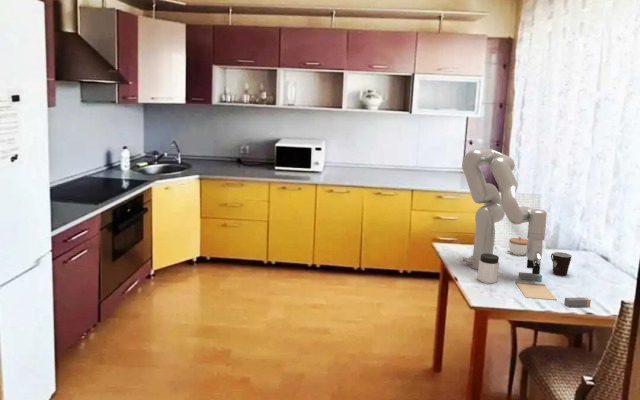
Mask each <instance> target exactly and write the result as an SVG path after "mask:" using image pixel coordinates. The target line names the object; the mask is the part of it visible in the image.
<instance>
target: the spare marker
mask: <svg viewBox="0 0 640 400" xmlns="http://www.w3.org/2000/svg"><path fill="white" fill-rule="evenodd" d="M591 300H592V299H591V298H590V299H589V298H588V297H565V298H564V301H563V302H564V303H563V304H564V306H565V307H568V308H589V307H591Z"/></svg>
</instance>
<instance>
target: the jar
mask: <svg viewBox="0 0 640 400" xmlns="http://www.w3.org/2000/svg"><path fill="white" fill-rule="evenodd" d="M499 260H500V257H499V256H498V255H496V254H494V253H493V254H481V259H480V260H479V268H478V269H477V270H478V271H477V277H476V278H477V280H478V281H479V282H481V283H484V282H486V283H485V284H491V283H492V284H494V283H497V282H498V277H499V276H498V275H499V270H500V269H499V268H500V261H499Z"/></svg>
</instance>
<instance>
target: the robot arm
mask: <svg viewBox="0 0 640 400" xmlns="http://www.w3.org/2000/svg"><path fill="white" fill-rule="evenodd" d="M461 164H462V165H461V166H462V171H463V174H464V176H465V179H466V181H467V182H466V183H467V186H468V189H469V192H470V196H471V198H472V200H473V202H474V203H475V204H481V205H482V204H483V206H481V207H479V208H478V209H477V210H476V211H475V216H474V217H475V230H474V240H473V241H474V242H473V251H472V255H471V257H462V261H463V262H466V263H468V266H469V267H470V268H471V269H475V270H478V268H479V260H480V259H481V254H494V246H495V239H496V229H495V224H496V223H499V222H501V221H503V219H505V218H504V217H505V216H506V217H507V219H508V222H510V223H511V224H513V225H521V224H524V223H528V226H527V236H526V237H527V240H528V243H527V250H526V253H525V256H526V258H527V261H526V268H527V269H532V271H531V273H532V274H541V273H540V272H541V261H542V256H543V241H545V237H546V226H547V225H546V224H547V217H548V216H547V211H546V210H544V209H539V208H537V209H536V208H532V207H529V206H519V203H518V201H517V198H516V195H517V194H516V192H517V189H518V187H519V184H518V181H517V179H516V177H515V175H514V173H513V170H514V169H515V166H516V165H515V164H516V163H515V161H514V159H513V158H512V157H510V156H509V155H507V154H504V153H502V152H499V151H497V150H495V149H492V148H488V147H484V148H483V147H482V148H475V149H472V150H469V151H468V152H466V154H465V155H464V156H463V158H462V162H461ZM480 166H487V167H489V168H490V171H491V173H492V175H493V177H494V179H495V182H496V183H497V184H496V185H497V186H498V188H499V190H500V192H499V190H498V188H497V186H495V185H494V184H493V183H489V182H486V179H485V175H484V173H483V172H482V170H481V168H480Z"/></svg>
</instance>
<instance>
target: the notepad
mask: <svg viewBox="0 0 640 400" xmlns="http://www.w3.org/2000/svg"><path fill="white" fill-rule="evenodd" d="M515 284H516V286H517V287H518V289H519V290H520V291H521V293H522V294H523V295H524V297H525V299H536V300H539V299H540V300H548V301H549V300H550V301H557V297H555V296H554V295H553V293H552V292H551V291H550V289H549V288H548V287H547V286H546V284H545V283H543V284H542V283H533V282H531V283H530V282H522V281H521V282H519V281H515Z"/></svg>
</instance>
